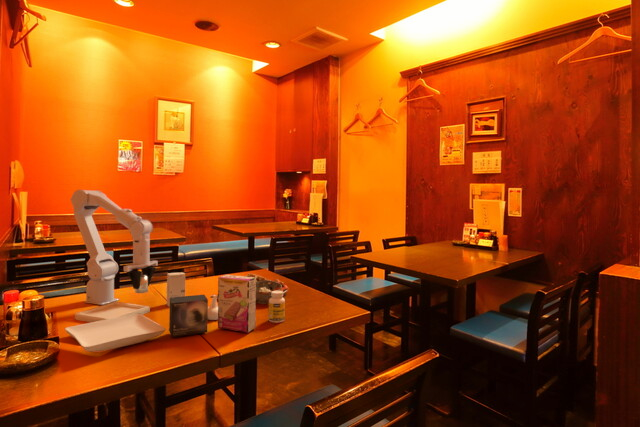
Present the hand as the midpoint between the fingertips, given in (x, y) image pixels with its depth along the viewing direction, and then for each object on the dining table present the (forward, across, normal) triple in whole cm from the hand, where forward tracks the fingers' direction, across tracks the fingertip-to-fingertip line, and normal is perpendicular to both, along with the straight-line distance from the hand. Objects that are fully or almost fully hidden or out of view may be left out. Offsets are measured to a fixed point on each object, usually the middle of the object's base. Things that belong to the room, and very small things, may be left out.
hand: (141, 287), depth 142 cm
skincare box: (+7, +5, -12) cm, 15 cm away
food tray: (+8, +23, -36) cm, 43 cm away
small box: (+7, -17, -36) cm, 40 cm away
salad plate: (+7, -29, -20) cm, 36 cm away
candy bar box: (+7, -9, -48) cm, 49 cm away
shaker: (+2, 0, 0) cm, 2 cm away
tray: (+7, -14, -2) cm, 16 cm away
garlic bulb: (+7, -3, -35) cm, 36 cm away
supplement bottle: (+7, +3, -56) cm, 57 cm away
